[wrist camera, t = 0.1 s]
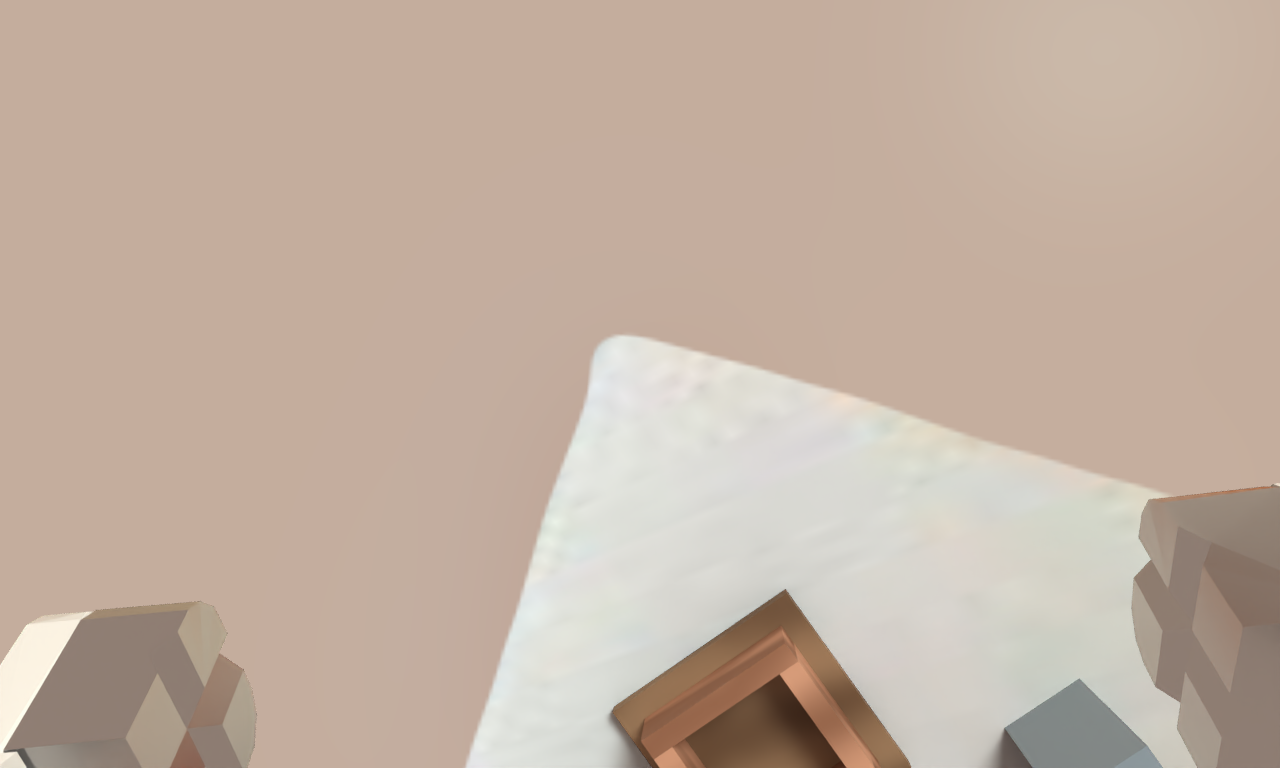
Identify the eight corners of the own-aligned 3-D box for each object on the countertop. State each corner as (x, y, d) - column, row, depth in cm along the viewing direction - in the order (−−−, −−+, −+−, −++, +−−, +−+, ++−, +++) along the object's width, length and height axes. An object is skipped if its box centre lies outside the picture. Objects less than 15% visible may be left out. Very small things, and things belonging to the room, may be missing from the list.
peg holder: (908, 760, 65) (922, 793, 60) (735, 875, 66) (737, 916, 61) (785, 588, 65) (790, 609, 60) (614, 706, 66) (606, 735, 61)
